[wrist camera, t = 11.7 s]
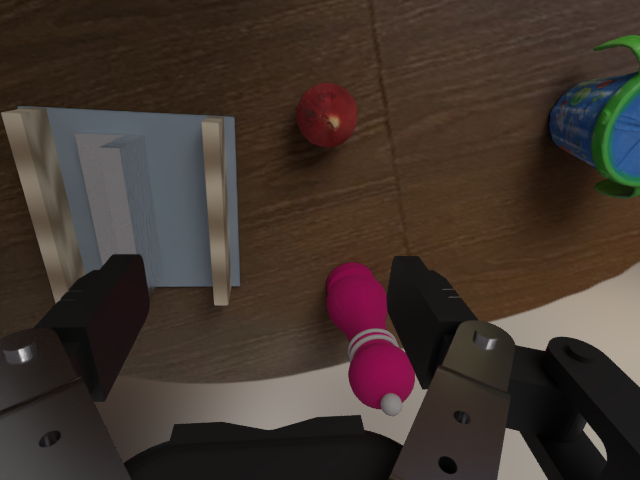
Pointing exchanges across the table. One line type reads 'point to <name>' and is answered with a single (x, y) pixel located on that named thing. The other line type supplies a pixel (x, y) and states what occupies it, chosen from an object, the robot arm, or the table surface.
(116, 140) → the bracket
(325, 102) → the onion
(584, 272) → the table surface
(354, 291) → the pepper mill
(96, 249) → the board
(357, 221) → the table surface
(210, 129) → the walls
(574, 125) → the snack cup
